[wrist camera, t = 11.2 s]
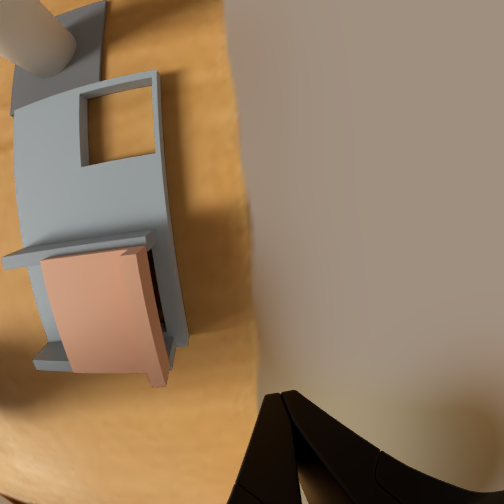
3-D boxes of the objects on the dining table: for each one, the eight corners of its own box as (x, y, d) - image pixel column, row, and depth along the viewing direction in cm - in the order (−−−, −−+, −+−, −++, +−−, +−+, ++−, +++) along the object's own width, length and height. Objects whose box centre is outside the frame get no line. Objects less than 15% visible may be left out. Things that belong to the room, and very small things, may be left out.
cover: (76, 367, 16) (64, 386, 14) (44, 258, 14) (26, 267, 12) (170, 365, 17) (165, 386, 14) (145, 245, 15) (135, 254, 13)
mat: (13, 116, 16) (10, 115, 15) (23, 33, 14) (21, 31, 14) (100, 87, 16) (98, 85, 16) (107, 1, 15) (105, -1, 14)
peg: (27, 82, 15) (-99, 25, 1) (39, 38, 14) (-63, -39, 1) (70, 74, 16) (-55, -13, 2) (81, 28, 15) (-11, -76, 1)
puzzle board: (59, 342, 20) (36, 369, 16) (24, 113, 16) (-8, 103, 12) (189, 335, 21) (184, 368, 17) (160, 77, 17) (148, 52, 13)
